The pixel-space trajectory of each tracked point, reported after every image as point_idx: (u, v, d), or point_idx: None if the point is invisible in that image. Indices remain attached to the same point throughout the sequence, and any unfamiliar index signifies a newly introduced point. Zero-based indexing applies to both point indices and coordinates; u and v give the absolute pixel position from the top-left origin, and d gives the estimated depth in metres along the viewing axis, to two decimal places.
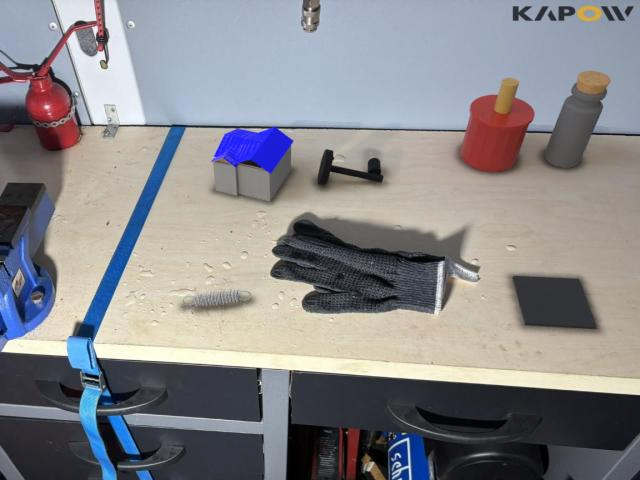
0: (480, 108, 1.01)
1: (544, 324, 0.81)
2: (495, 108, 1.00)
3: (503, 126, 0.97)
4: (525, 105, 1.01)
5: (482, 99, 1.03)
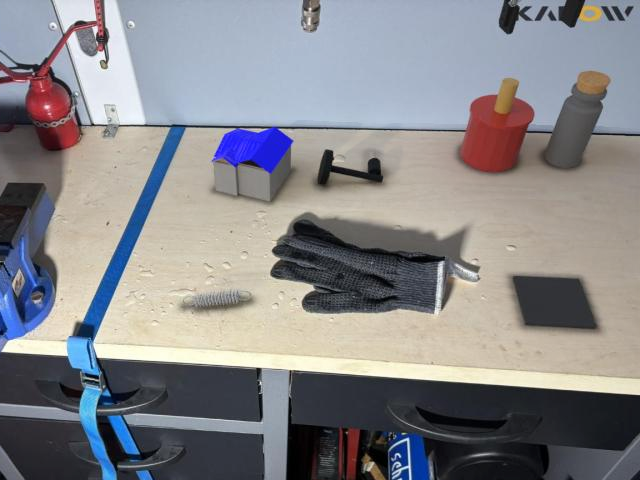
0: (480, 108, 1.01)
1: (544, 324, 0.81)
2: (495, 108, 1.00)
3: (503, 126, 0.97)
4: (525, 105, 1.01)
5: (482, 99, 1.03)
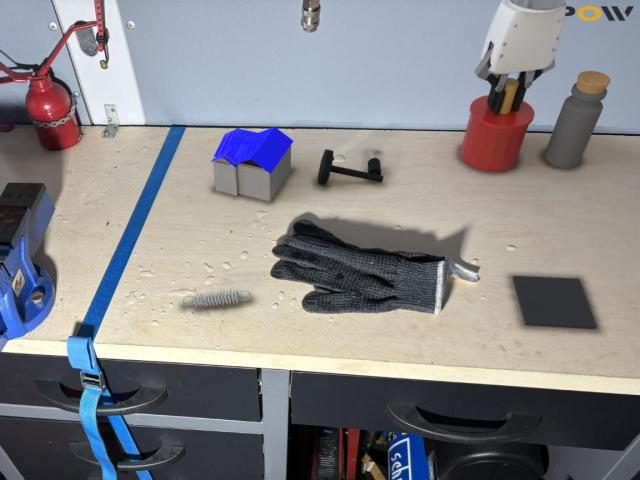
0: (480, 108, 1.01)
1: (544, 324, 0.81)
2: None
3: (503, 126, 0.97)
4: (525, 105, 1.01)
5: (482, 99, 1.03)
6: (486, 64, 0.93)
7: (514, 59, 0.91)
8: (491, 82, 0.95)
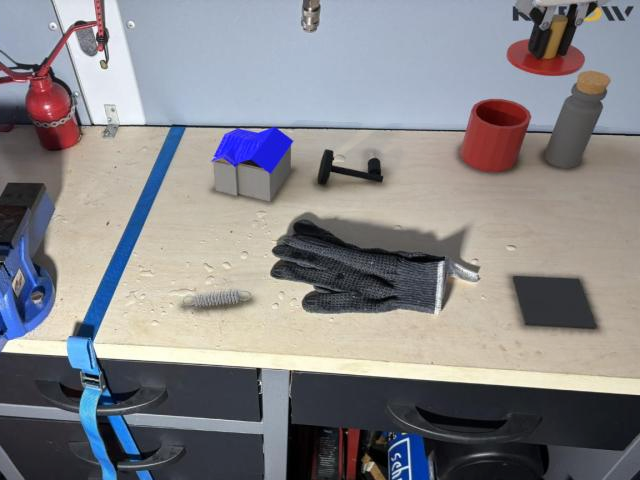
0: (519, 53, 0.85)
1: (544, 324, 0.81)
2: None
3: (548, 72, 0.81)
4: (573, 49, 0.85)
5: (521, 43, 0.87)
6: None
7: None
8: (535, 17, 0.80)
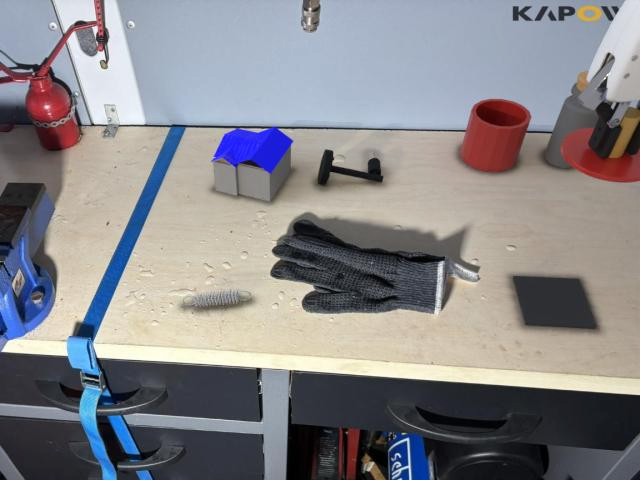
0: (577, 149, 0.70)
1: (544, 324, 0.81)
2: None
3: (617, 178, 0.66)
4: None
5: (578, 135, 0.71)
6: (599, 88, 0.62)
7: None
8: (603, 113, 0.64)
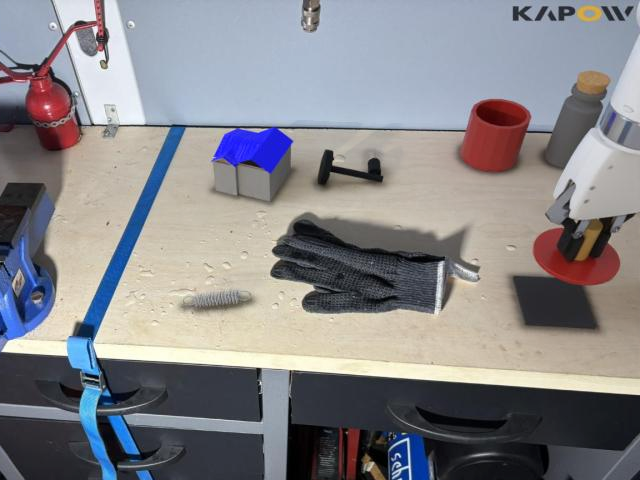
0: (546, 250, 0.77)
1: (544, 324, 0.81)
2: None
3: (581, 281, 0.74)
4: (606, 246, 0.77)
5: (548, 235, 0.79)
6: (563, 207, 0.70)
7: (603, 204, 0.68)
8: (567, 227, 0.72)
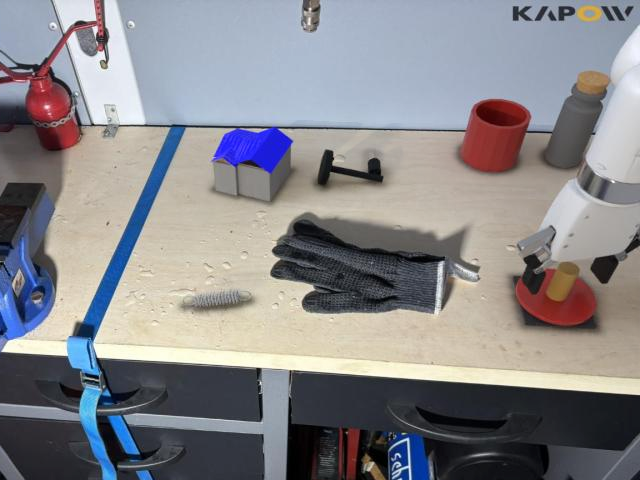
0: (528, 291, 0.83)
1: (544, 324, 0.81)
2: (548, 293, 0.82)
3: (560, 322, 0.79)
4: (584, 287, 0.83)
5: None
6: (538, 242, 0.73)
7: (582, 248, 0.73)
8: (529, 264, 0.76)
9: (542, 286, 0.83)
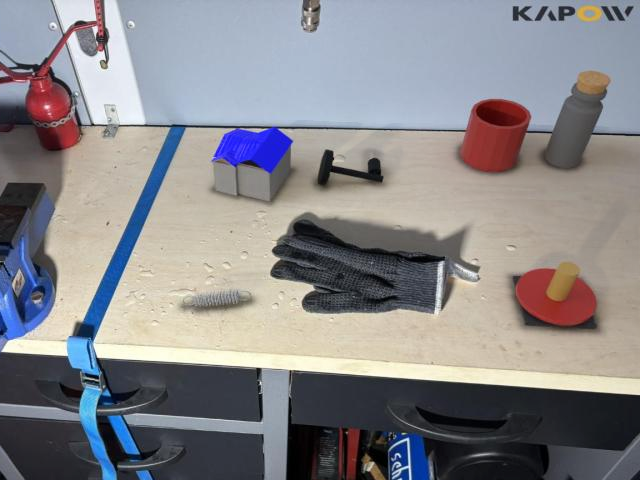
0: (528, 291, 0.83)
1: (544, 324, 0.81)
2: (548, 293, 0.82)
3: (560, 322, 0.79)
4: (584, 287, 0.83)
5: (530, 276, 0.85)
6: None
7: None
8: None
9: (542, 286, 0.83)
